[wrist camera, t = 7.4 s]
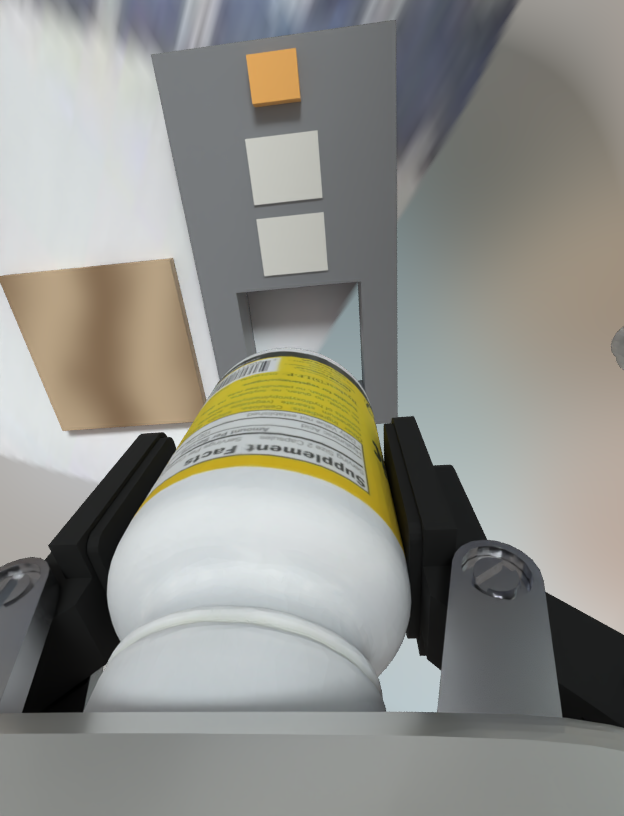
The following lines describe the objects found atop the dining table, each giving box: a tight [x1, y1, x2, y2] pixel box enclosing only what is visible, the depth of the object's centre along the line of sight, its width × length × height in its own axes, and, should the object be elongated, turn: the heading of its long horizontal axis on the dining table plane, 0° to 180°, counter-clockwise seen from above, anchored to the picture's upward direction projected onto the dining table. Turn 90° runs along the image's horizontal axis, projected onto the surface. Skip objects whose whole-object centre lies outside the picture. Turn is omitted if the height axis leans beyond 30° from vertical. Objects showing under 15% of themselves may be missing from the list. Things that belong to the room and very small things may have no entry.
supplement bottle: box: [83, 348, 411, 712], centre depth 9 cm, size 5×5×10 cm
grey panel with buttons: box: [151, 20, 398, 424], centre depth 21 cm, size 10×18×3 cm, turn 5°
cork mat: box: [0, 258, 206, 431], centre depth 25 cm, size 10×10×1 cm
